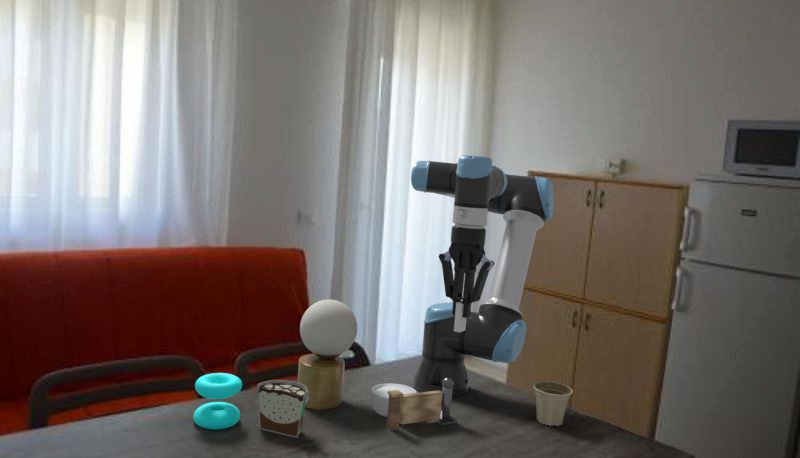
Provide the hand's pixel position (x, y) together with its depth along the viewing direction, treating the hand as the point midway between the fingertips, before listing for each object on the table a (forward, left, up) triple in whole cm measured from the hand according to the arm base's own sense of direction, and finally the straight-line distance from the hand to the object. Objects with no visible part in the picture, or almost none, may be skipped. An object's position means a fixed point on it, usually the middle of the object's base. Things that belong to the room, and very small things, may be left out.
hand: (459, 330), depth 149 cm
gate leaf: (-7, -4, -23) cm, 25 cm away
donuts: (-23, -47, -24) cm, 58 cm away
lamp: (-29, -19, -24) cm, 42 cm away
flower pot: (+2, +28, -24) cm, 37 cm away
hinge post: (-7, +3, -24) cm, 25 cm away
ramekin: (-16, -6, -24) cm, 30 cm away
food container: (-15, -34, -24) cm, 44 cm away
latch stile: (-7, -11, -24) cm, 27 cm away
